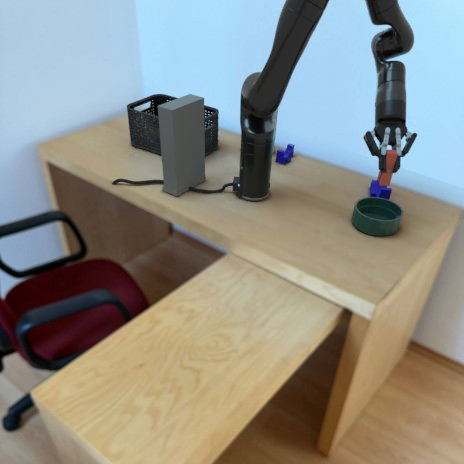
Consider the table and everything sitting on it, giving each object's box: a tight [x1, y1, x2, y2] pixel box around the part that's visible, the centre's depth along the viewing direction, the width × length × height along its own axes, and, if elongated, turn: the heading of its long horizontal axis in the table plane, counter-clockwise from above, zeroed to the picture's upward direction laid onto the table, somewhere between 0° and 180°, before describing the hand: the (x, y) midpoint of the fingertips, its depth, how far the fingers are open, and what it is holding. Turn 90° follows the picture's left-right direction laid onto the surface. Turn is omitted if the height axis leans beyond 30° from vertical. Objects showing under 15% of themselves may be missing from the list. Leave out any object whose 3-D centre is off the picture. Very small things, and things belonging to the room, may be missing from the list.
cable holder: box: [275, 143, 295, 165], centre depth 152 cm, size 8×4×4 cm, turn 142°
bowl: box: [351, 196, 404, 237], centre depth 122 cm, size 13×13×5 cm
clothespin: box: [376, 149, 398, 187], centre depth 113 cm, size 2×3×8 cm
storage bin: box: [126, 93, 220, 157], centre depth 155 cm, size 29×19×13 cm
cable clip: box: [369, 170, 393, 200], centre depth 133 cm, size 12×4×6 cm, turn 169°
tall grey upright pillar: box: [158, 93, 207, 197], centre depth 129 cm, size 14×6×25 cm, turn 144°
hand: (389, 171), depth 112 cm, fingers closed on clothespin, 2 cm apart
